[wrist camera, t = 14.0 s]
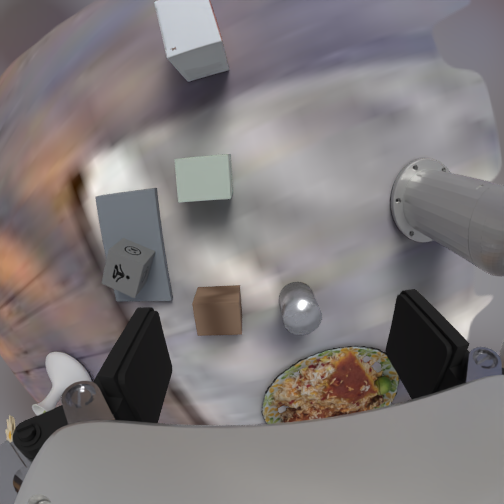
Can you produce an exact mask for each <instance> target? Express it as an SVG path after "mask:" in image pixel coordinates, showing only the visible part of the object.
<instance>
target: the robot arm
mask: <svg viewBox="0 0 504 504" xmlns="http://www.w3.org/2000/svg"><path fill="white" fill-rule="evenodd" d="M396 199H397V201H396ZM391 211H392V215H393V219H394V221H395V223H396V225H397V227H398V228H399V230H400V231H401V232H402V233H403V234H404V235H405V236H406V237H408V238H409V239H411V240H414V241H416V242H421V243H423V242H430V241H436V242H437V243H439V244H441V245H442V246H444V247H446V248H448V249H449V250H451V251H452V252H454V253H456V254H457V255H459V256H461V257H462V258H464V259H465V260H467V261H469V262H470V263H472V264H473V265H475V266H476V267H478V268H480V269H482V270H483V271H485V272H486V273H488V274H490V275H493V276H501V277H502V276H504V185H500V184H496V183H492V182H488V181H484V180H480V179H476V178H472V177H467V176H462V175H458V174H453V173H451V172H450V171H449V169H448V168H447V167H446V166H445V165H444V164H442V163H441V162H439V161H437V160H434V159H429V158H421V159H417V160H414V161H412V162H410V163H409V164H407V165H406V166H405V167H404V168H403V169H402V170H401V171H400V173H399V175H398V176H397V178H396V180H395V183H394V185H393V189H392V193H391ZM468 346H469V343H468V342H467V341H466V340H465V339H464V337H463V336H462V335H461V334H460V333H459V332H458V331H457V330H456V329H455V328H454V327H453V326H452V325H451V324H450V323H449V322H448V321H447V320H446V319H445V318H444V317H443V316H442V315H441V314H440V313H439V312H438V311H437V310H436V309H435V308H434V307H433V306H432V305H431V304H430V303H429V302H428V301H427V300H426V299H425V298H424V297H423V296H422V295H421V294H420V293H419V292H418V291H417V290H415V289H412V290H405V291H402V292H401V293H400V295H398V296H397V299H396V304H395V310H394V315H393V320H392V324H391V329H390V334H389V338H388V342H387V346H386V355H387V357H388V359H389V360H390V362H391V364H392V365H393V367H394V369H395V371H396V372H397V374H398V376H399V377H400V379H401V381H402V383H403V384H404V386H405V388H406V390H407V391H408V393H409V395H410V397H411V399H412V400H408V401H405V402H401V403H397V404H393V405H389V406H385V407H380V408H376V409H371V410H367V411H362V412H357V413H351V414H346V415H340V416H334V417H327V418H321V419H313V420H305V421H296V422H286V423H274V424H258V425H231V426H208V425H177V424H161V423H158V420H159V416H160V413H161V409H162V405H163V402H164V398H165V395H166V391H167V388H168V384H169V381H170V378H171V374H172V364H171V360H170V357H169V353H168V349H167V345H166V341H165V338H164V334H163V330H162V326H161V321H160V317H159V313H158V312H157V311H154V309H153V308H137V309H136V311H135V313H134V314H133V316H132V317H131V319H130V321H129V322H128V324H127V326H126V327H125V329H124V331H123V332H122V334H121V335H120V337H119V339H118V340H117V342H116V343H115V345H114V347H113V348H112V350H111V352H110V354H109V355H108V357H107V359H106V360H105V362H104V364H103V366H102V367H101V369H100V371H99V373H98V374H97V376H96V378H95V380H94V382H91V381H79V382H75V383H73V384H71V385H70V386H68V387H67V388H66V389H65V391H64V392H63V394H62V397H61V401H62V405H61V406H59V407H57V408H54V409H52V410H50V411H47V412H45V413H42V414H40V415H38V416H35V417H33V418H30V419H28V420H25V421H24V422H22V423H20V424H19V425H18V426H17V427H16V428H15V430H14V432H13V441H12V442H11V443H10V442H9V441H8V440H7V441H5V442H4V443H3V444H1V445H0V504H504V340H503V343H502V346H501V350H500V355H498V354H497V353H496V352H495V351H493V350H492V349H489V348H486V347H476V348H474V349H472V350H471V351H470V352H469V351H468V350H467V349H468Z"/></svg>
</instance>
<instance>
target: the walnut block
mask: <svg viewBox="0 0 504 504" xmlns="http://www.w3.org/2000/svg"><path fill="white" fill-rule="evenodd" d="M192 305H193V311H194V317H195V323H196V329H197V334H198V336H204V335H238V334H242V307H241V295H240V285H236V286H215V287H198V288H197V291H196V294H195V297H194V300H193V303H192Z"/></svg>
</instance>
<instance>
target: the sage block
mask: <svg viewBox="0 0 504 504" xmlns="http://www.w3.org/2000/svg"><path fill="white" fill-rule="evenodd" d="M175 171H176V183H177V194H178V203H179V202H191V201H204V200H219V199H231V197H232V194H233V187H232V170H231V154H224V155H211V156H200V157H189V158H180V159H175Z"/></svg>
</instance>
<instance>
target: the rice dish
mask: <svg viewBox="0 0 504 504" xmlns="http://www.w3.org/2000/svg"><path fill="white" fill-rule="evenodd" d="M359 355H361V357H358V356H359ZM365 356H369V357H371V359H372V360H370V361H369V362H367V363H364V362H363V357H365ZM375 362H378V363H380V364H381V366H382V367H381V368H382V370H381V372H378V373H376V371H375V370H373V367H371V366H372V365H373V364H374V363H375ZM301 368H304V369H302V370H300V369H301ZM298 370H299V373H300V374H299V375H296V376H295V375H294V373H295V372H298ZM382 374H383V375H384V376H382ZM292 377H293V378H292ZM398 385H399V376H398V374H397V372H396V371H395V369H394V367H393V365H392V364H391V362H390V360H389V359H388V357H387V355H386V352H383V351H381V350H380V349H375V348H372V347H371V348H367V347H365V346H362V347H358V346H349V347H345V348H344V347H342V348H340V347H339V348H333V349H329V350H326V351H323V352H320V353H316V354H314V355H312V356H310V357H309V358H305V359H302V360H299V361H298V362H297V363H296V364H294V365H292V366H291V367H290V368H289V369H287V370H285V371H284V372H283V373H281V374H280V375H278V376H277V377H276V378H275V379H274V381H273V383H272V384H271V386H269V387H268V390H267V391H266V394H265V397H264V401H263V406H262V408H263V410H262V415H263V416H264V420H265V422H266V424H274V423H286V422H296V421H305V420H313V419H321V418H327V417H334V416H340V415H346V414H351V413H357V412H362V411H367V410H371V409H376V408H380V407H385V406H389V405H391V403H392V401H393V400H394V397H395V395H396V394H397V386H398ZM283 405H285V406H289V407H290V408H286V411H285V412H283V413H279V412H278V408H279V407H281V406H283Z"/></svg>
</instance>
